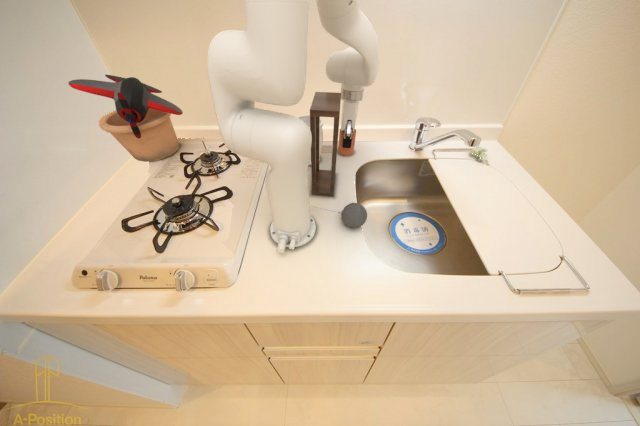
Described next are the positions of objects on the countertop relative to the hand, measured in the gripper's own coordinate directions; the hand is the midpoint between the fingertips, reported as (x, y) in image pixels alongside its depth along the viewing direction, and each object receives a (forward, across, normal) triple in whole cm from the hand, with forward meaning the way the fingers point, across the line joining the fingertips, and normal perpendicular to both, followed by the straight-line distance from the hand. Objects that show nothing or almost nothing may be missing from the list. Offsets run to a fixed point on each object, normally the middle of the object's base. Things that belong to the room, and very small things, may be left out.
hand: (346, 142), depth 85 cm
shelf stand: (+4, +21, -7) cm, 23 cm away
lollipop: (-2, +38, -5) cm, 38 cm away
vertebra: (+3, 0, +50) cm, 50 cm away
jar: (+4, +7, -14) cm, 16 cm away
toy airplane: (-23, +9, -67) cm, 72 cm away
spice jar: (+4, 0, 0) cm, 4 cm away
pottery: (+4, +8, -76) cm, 76 cm away
